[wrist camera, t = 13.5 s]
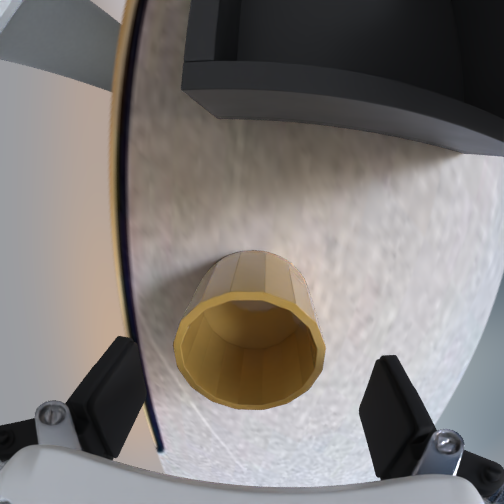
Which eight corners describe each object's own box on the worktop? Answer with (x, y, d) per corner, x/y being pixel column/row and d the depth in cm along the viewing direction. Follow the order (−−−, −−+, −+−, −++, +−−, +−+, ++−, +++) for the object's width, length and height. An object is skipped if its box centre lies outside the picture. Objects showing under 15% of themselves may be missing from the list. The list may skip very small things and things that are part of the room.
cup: (185, 327, 17) (160, 382, 12) (220, 232, 15) (199, 266, 10) (281, 361, 17) (284, 422, 13) (328, 275, 16) (352, 324, 11)
